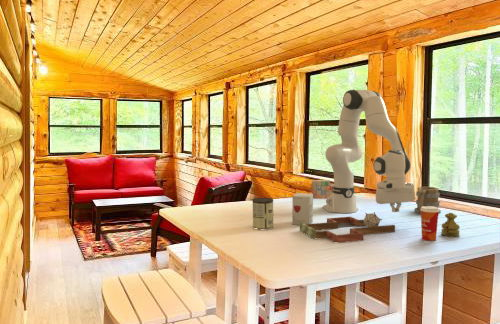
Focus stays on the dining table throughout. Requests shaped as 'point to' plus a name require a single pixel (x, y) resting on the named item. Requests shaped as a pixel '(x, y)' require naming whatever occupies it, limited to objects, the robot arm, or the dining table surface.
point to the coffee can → (263, 213)
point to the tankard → (427, 198)
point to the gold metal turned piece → (450, 226)
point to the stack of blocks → (321, 189)
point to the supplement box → (302, 209)
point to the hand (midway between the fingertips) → (395, 211)
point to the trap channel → (339, 222)
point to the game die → (371, 220)
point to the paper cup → (429, 222)
